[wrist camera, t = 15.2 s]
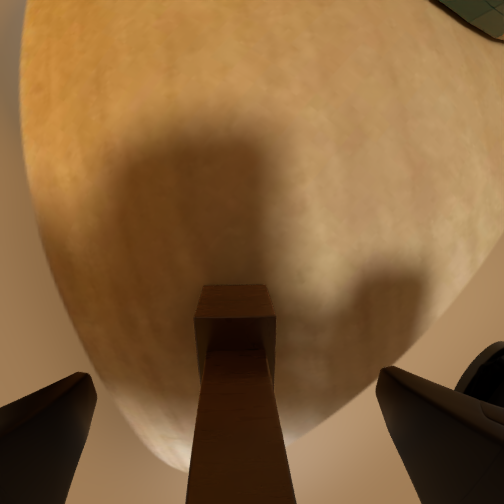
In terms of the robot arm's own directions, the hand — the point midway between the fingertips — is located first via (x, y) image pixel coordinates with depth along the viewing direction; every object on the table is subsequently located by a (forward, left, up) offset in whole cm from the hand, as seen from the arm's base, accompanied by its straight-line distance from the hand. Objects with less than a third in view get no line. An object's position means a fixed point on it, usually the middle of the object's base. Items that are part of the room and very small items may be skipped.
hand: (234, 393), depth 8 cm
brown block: (0, 0, -4) cm, 4 cm away
